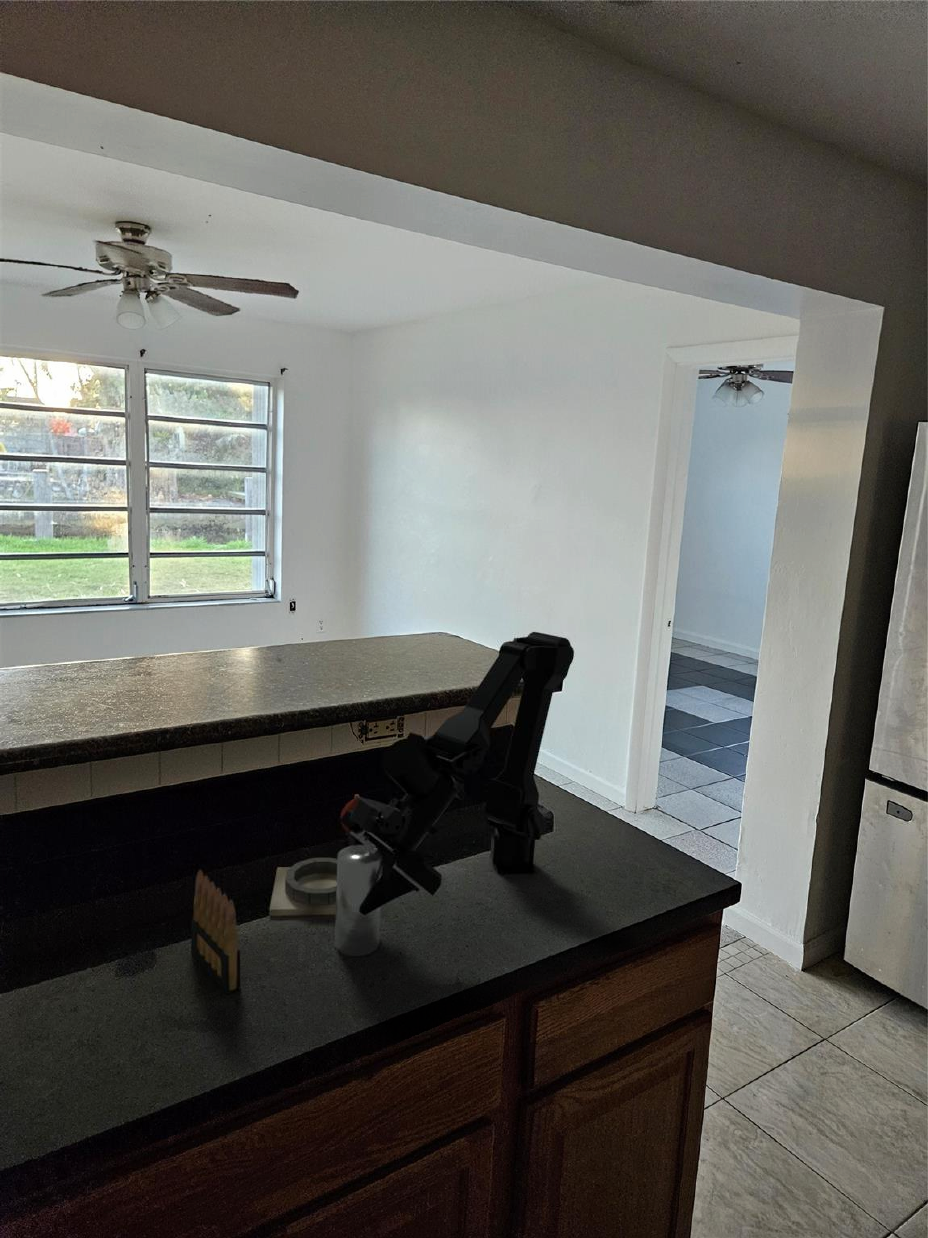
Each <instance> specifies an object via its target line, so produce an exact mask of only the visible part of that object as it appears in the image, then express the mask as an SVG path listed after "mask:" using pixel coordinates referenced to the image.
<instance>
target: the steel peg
mask: <svg viewBox="0 0 928 1238" xmlns="http://www.w3.org/2000/svg"><path fill="white" fill-rule="evenodd" d="M383 856H384V855H383V851H382V850H380V849H379V848H378V847H377V848H375V847H372V846H367V845H353V846H349V845H348V846H347V847H344V848H342V849H340V850H339V851H338V853H337V858H336V859H337V890H336V915H335V923H334V926H335V928H334V929H335V931H334V932H335V933H334V947H335V949H336V950H337V951H338V952H339V953H341V954H343V955H345V956H351V957H362V956H363V957H364V956H367V955H370V954H372V953H373V952H375V950H377V949H378V947H379V945H380V928H381V927H380V925H381V923H380V922H381V907H379V908H377V909H375V910H373V911H372V912H370V913H368V914H366V915H363V914H362V913H360V912H359V909H360V908H361V906H362V904H363V902H364V901H365V899H366V898H367V896H368V895H369V893H370V892H371V890H372V889H373V888H374V886H375V885H376V883H377V882H378V880H379V879H380V877H381V876H382V870H383V859H384V858H383Z"/></svg>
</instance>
